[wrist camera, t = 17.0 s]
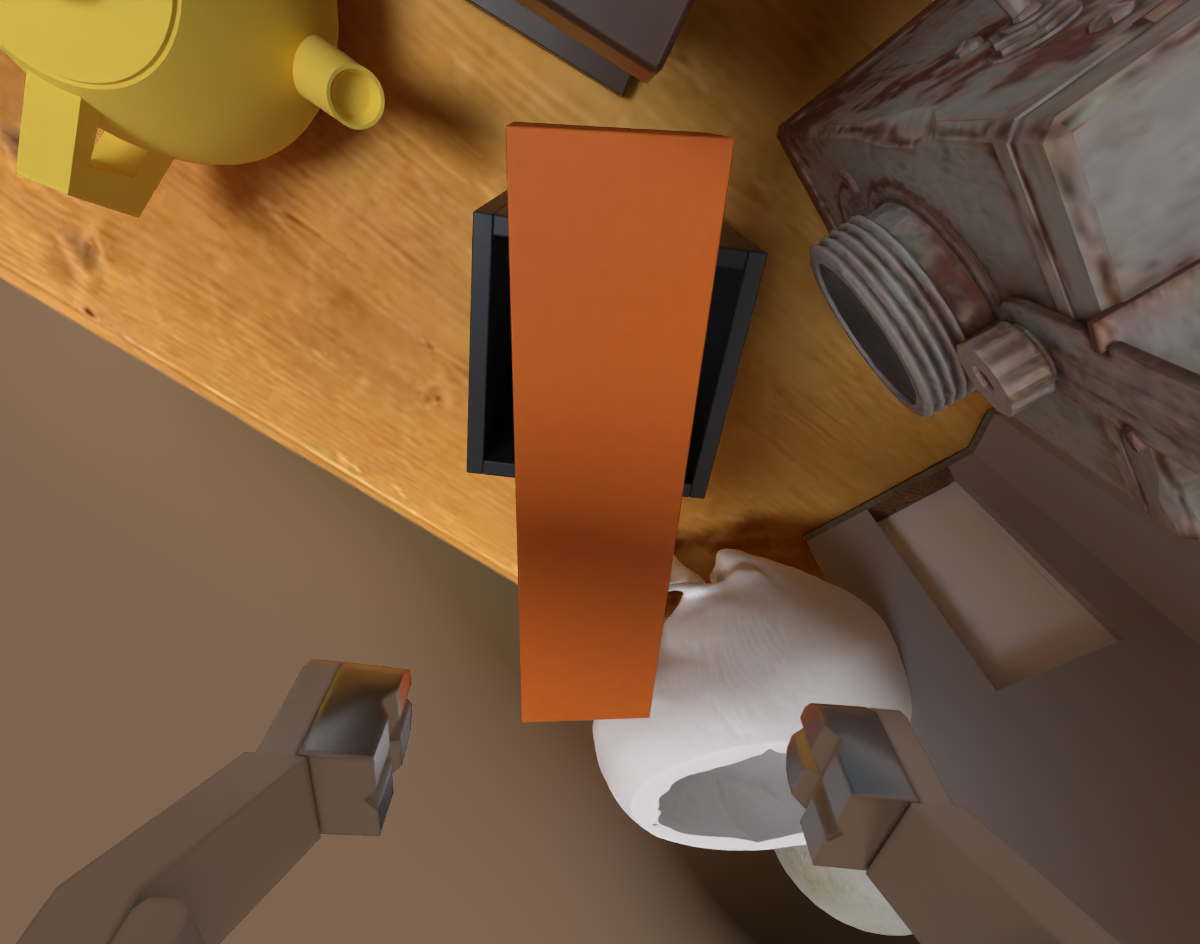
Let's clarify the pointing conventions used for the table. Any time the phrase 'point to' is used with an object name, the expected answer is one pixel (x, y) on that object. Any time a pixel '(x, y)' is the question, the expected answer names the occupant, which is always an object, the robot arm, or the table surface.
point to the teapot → (172, 87)
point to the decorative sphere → (842, 893)
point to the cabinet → (1047, 665)
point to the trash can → (494, 347)
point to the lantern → (1026, 225)
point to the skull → (743, 701)
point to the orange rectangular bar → (604, 395)
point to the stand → (598, 33)
